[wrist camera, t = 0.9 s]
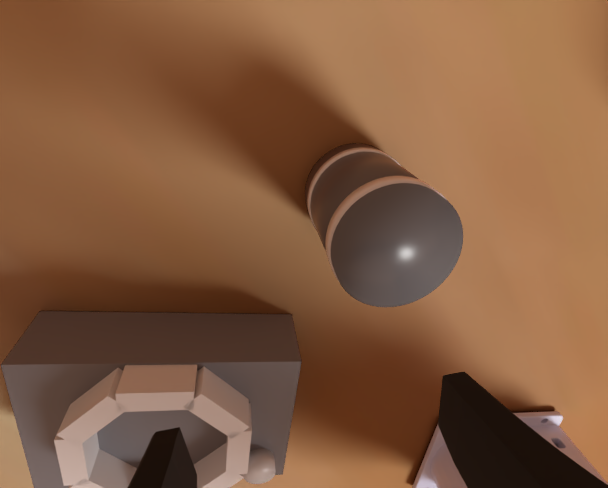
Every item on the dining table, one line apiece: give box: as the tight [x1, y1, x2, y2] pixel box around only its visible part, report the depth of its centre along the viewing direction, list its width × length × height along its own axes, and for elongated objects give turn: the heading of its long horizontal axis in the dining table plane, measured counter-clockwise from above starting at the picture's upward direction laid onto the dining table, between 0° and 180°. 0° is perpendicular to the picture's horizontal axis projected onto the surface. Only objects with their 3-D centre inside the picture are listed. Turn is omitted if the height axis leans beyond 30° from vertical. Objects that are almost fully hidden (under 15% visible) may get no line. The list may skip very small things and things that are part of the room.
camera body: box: [1, 311, 302, 488], centre depth 19 cm, size 12×8×5 cm, turn 82°
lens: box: [305, 143, 463, 307], centre depth 16 cm, size 4×4×6 cm
